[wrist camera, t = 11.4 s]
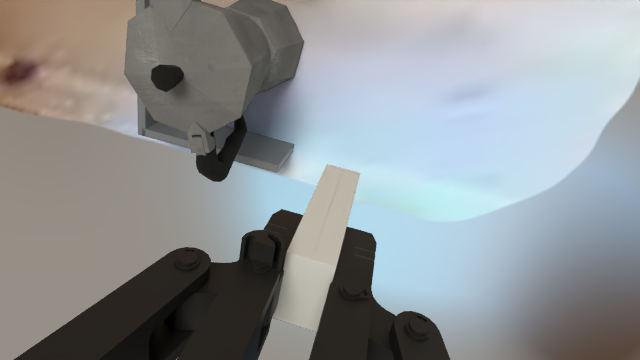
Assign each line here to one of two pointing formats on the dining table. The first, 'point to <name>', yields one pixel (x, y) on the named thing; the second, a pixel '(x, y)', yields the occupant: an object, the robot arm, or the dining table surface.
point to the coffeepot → (209, 67)
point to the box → (217, 135)
